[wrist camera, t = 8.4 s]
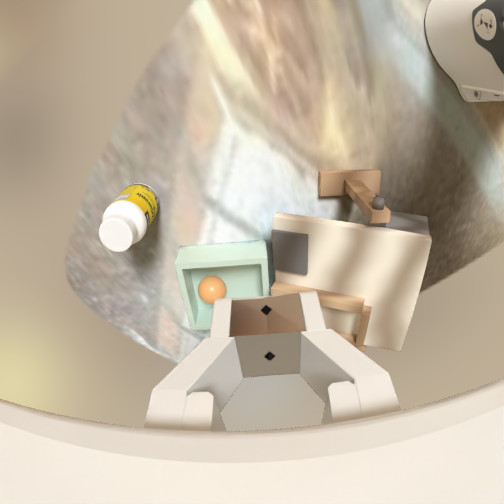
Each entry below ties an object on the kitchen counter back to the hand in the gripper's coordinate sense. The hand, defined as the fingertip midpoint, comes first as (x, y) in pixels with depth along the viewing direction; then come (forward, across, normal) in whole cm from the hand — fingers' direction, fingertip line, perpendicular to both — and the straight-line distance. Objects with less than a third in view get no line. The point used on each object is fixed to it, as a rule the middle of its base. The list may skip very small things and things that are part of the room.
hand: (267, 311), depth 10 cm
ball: (+27, +8, +20) cm, 35 cm away
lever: (+27, -12, +17) cm, 34 cm away
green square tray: (+30, +6, +20) cm, 37 cm away
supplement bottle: (+30, +16, +7) cm, 35 cm away
